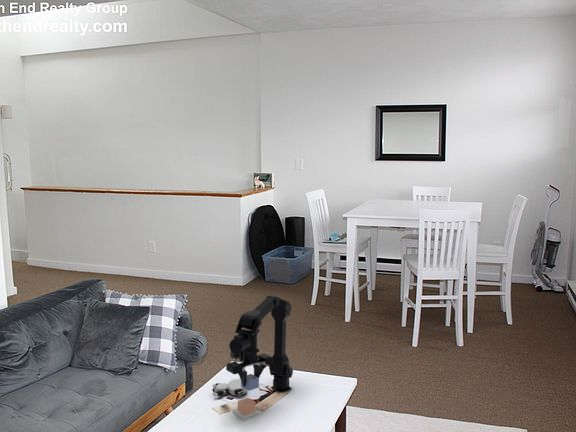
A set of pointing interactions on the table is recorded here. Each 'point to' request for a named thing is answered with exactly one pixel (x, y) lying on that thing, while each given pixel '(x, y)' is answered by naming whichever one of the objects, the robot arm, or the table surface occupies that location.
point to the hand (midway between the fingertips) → (249, 384)
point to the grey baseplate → (247, 416)
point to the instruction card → (225, 408)
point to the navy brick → (251, 382)
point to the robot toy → (229, 388)
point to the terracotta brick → (246, 406)
